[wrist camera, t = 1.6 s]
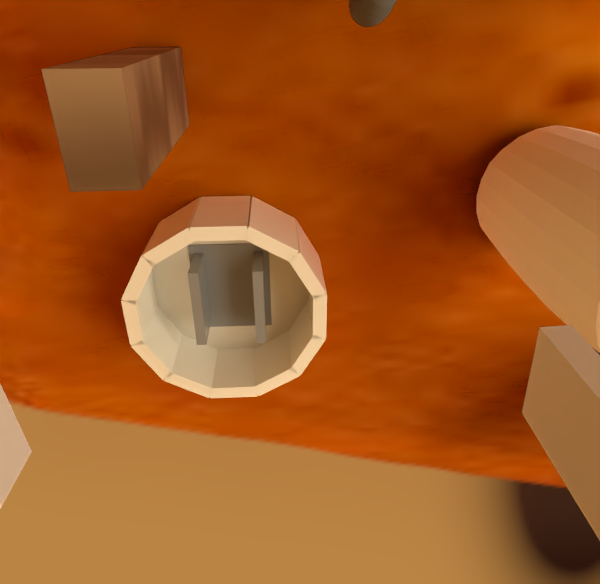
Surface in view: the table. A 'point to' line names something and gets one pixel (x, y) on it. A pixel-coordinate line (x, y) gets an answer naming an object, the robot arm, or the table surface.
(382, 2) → the mug
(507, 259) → the cup
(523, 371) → the table surface
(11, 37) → the table surface
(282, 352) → the white round bowl
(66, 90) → the tall brown wooden block
